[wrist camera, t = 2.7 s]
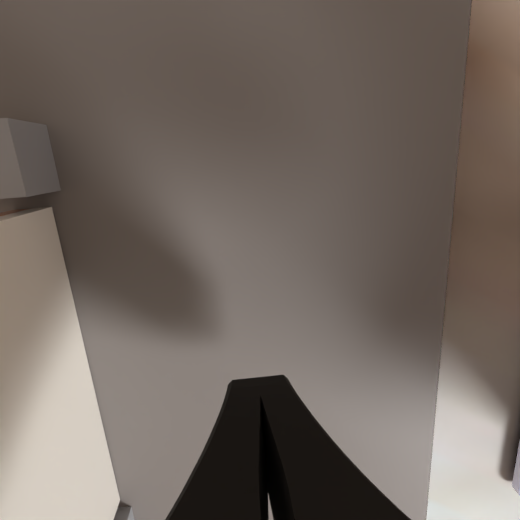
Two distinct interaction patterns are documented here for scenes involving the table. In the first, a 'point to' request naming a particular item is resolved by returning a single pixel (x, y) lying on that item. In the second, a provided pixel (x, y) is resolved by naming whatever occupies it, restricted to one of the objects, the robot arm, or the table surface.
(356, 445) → the board
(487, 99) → the table surface
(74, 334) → the tile
